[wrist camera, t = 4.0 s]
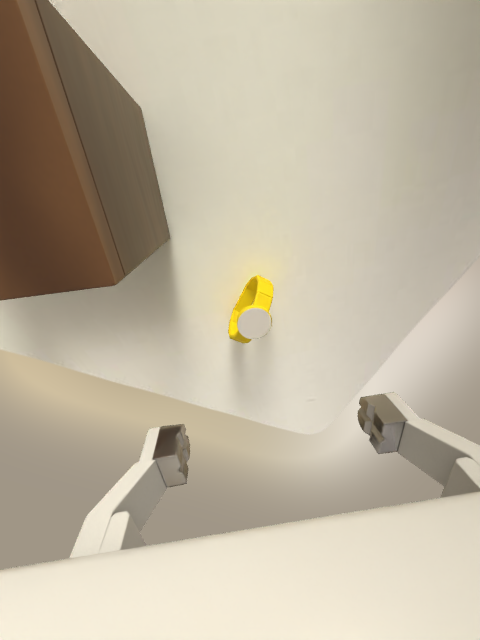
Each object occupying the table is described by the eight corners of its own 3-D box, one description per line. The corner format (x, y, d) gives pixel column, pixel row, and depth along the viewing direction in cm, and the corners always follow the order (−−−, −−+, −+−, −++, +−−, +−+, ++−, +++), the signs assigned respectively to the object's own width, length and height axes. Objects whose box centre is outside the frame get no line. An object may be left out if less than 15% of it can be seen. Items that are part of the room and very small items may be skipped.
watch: (244, 327, 26) (251, 361, 21) (220, 318, 25) (221, 350, 20) (273, 277, 24) (288, 300, 19) (247, 265, 23) (256, 285, 18)
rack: (140, 107, 18) (-8, -67, 6) (170, 238, 22) (115, 285, 10) (-60, 130, 17) (-626, -7, 6) (8, 259, 21) (-243, 332, 10)
